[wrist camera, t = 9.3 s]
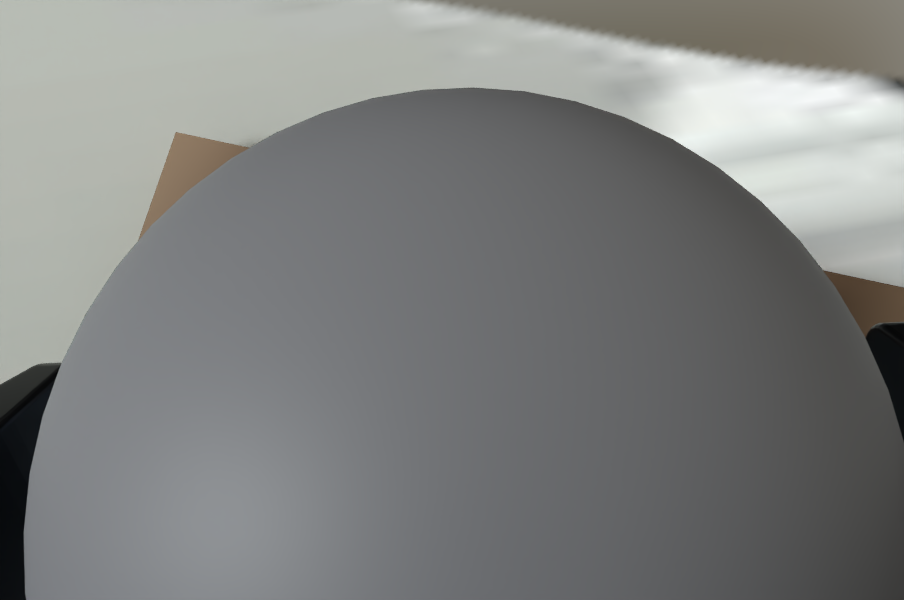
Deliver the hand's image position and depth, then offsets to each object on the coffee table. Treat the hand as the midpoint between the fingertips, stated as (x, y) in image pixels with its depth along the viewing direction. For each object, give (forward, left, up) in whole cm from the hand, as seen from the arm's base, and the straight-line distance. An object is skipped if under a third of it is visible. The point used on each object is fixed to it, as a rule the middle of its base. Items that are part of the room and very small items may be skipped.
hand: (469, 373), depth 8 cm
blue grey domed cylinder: (-1, +1, -8) cm, 8 cm away
